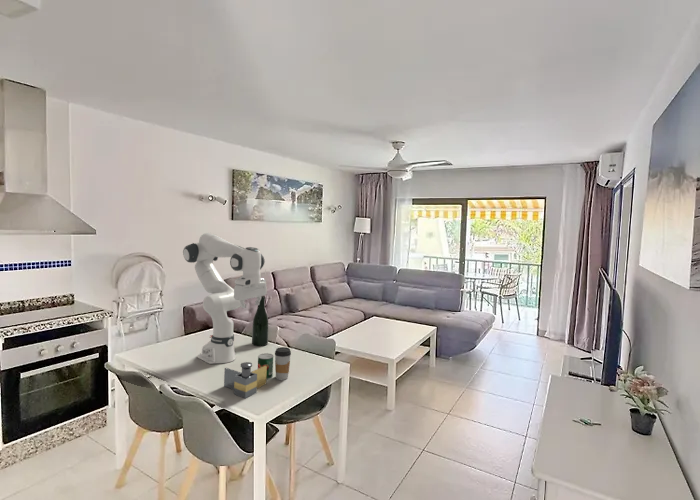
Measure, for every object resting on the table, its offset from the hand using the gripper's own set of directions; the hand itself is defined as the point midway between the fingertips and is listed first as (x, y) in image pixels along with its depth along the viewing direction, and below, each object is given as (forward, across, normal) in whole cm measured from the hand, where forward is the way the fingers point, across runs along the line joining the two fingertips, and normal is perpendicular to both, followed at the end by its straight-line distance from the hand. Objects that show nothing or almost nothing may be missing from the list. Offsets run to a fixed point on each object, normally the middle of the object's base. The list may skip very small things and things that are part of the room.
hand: (250, 306), depth 192 cm
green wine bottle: (+37, -43, -32) cm, 65 cm away
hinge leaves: (+37, +9, +7) cm, 39 cm away
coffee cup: (+37, -10, +14) cm, 41 cm away
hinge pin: (+37, +14, +12) cm, 41 cm away
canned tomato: (+37, -6, +6) cm, 38 cm away
